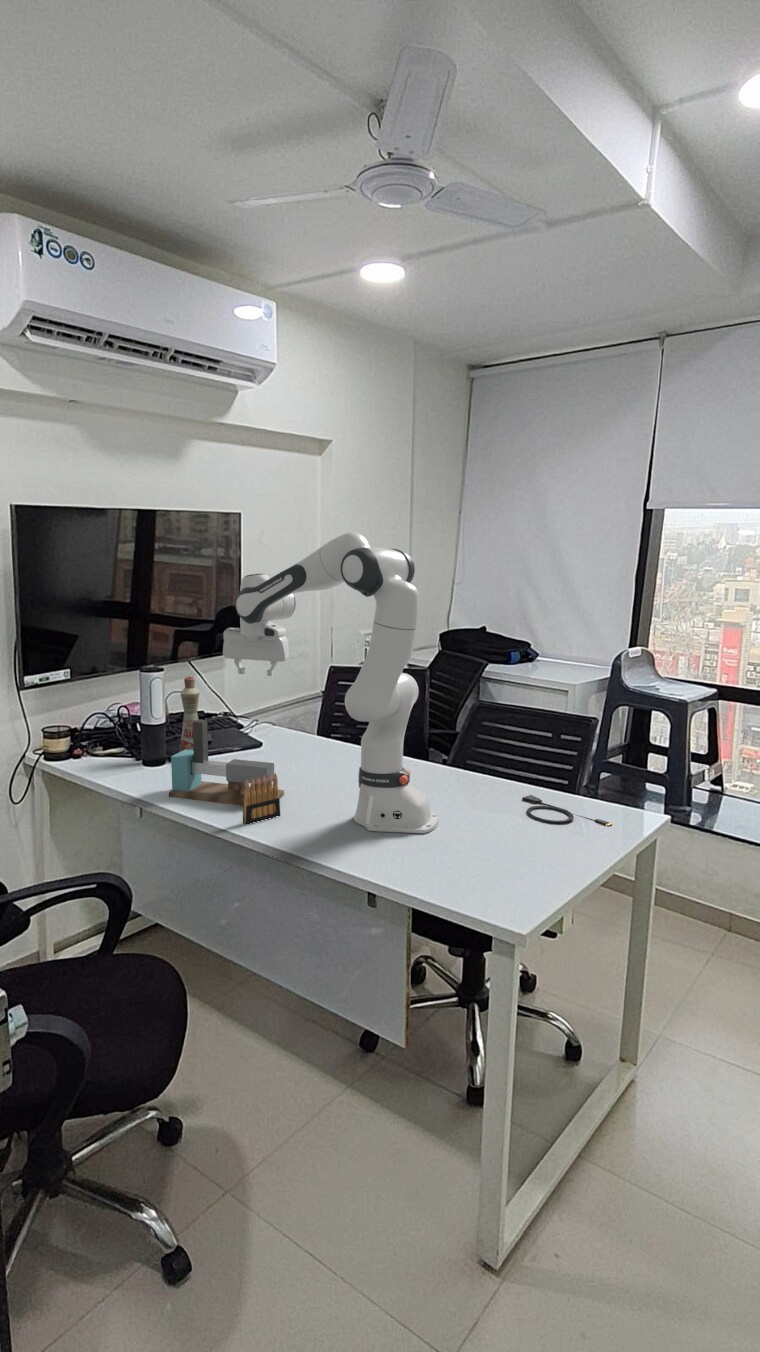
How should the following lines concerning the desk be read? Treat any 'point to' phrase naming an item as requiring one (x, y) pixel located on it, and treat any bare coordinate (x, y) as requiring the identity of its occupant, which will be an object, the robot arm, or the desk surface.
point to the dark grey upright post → (204, 752)
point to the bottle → (189, 712)
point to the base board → (216, 793)
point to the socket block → (183, 772)
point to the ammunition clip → (261, 800)
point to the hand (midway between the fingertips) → (255, 674)
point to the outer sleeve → (248, 771)
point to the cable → (536, 800)
